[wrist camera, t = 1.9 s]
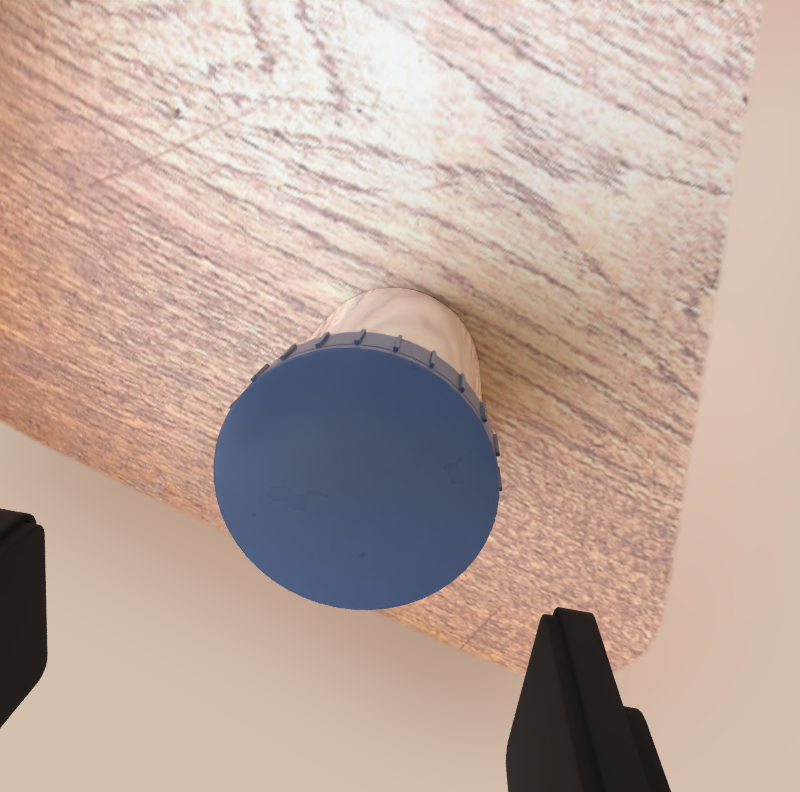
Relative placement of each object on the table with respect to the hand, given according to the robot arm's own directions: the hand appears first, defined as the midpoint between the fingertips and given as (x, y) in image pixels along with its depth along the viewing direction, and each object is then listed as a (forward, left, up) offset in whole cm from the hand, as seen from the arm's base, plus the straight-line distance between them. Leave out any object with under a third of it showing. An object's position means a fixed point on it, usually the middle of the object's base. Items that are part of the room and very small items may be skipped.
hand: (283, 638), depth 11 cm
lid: (0, 0, -6) cm, 6 cm away
